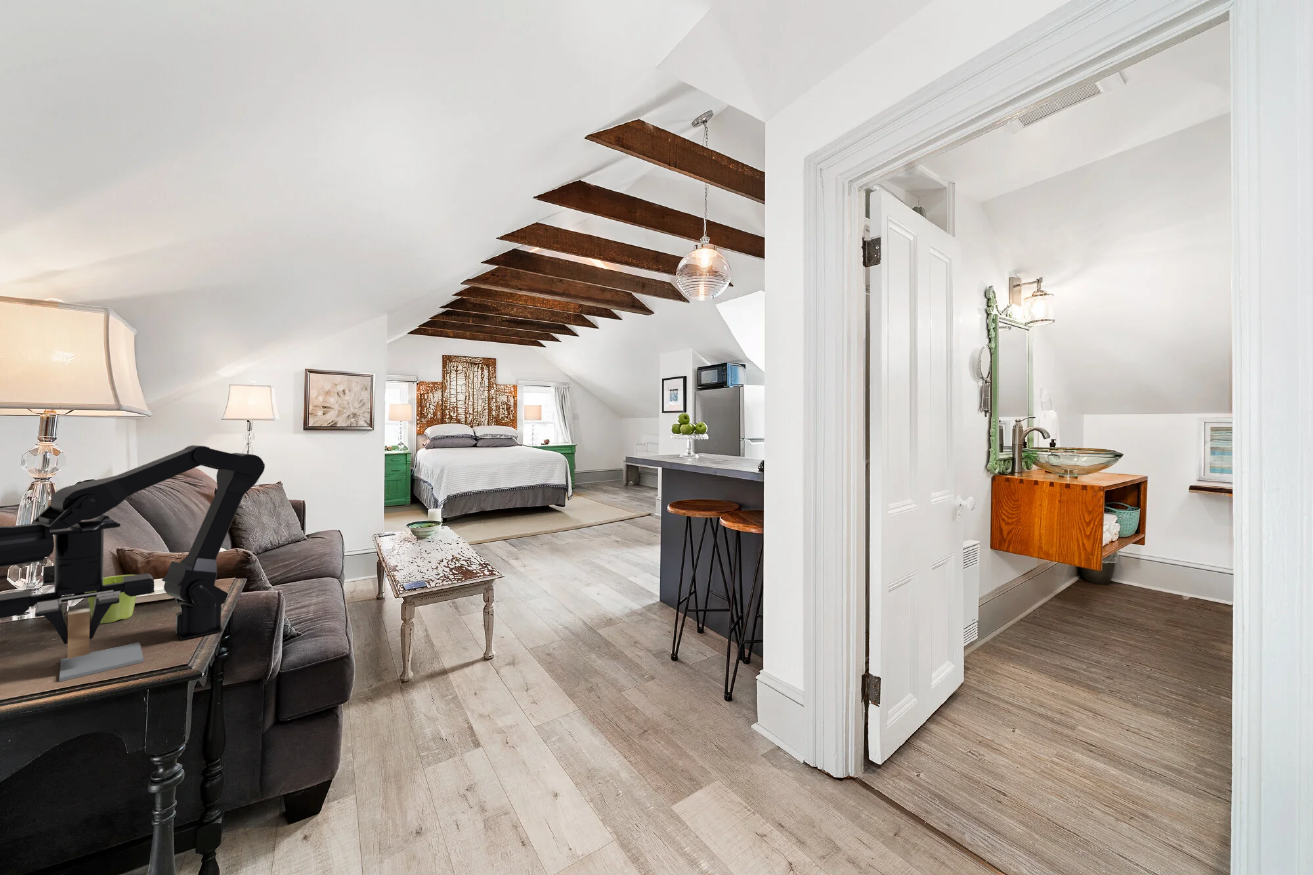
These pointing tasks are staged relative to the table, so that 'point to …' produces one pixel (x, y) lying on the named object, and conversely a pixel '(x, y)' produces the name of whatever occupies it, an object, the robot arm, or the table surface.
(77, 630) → the slab
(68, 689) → the table surface
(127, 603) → the plant pot
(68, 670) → the mat
